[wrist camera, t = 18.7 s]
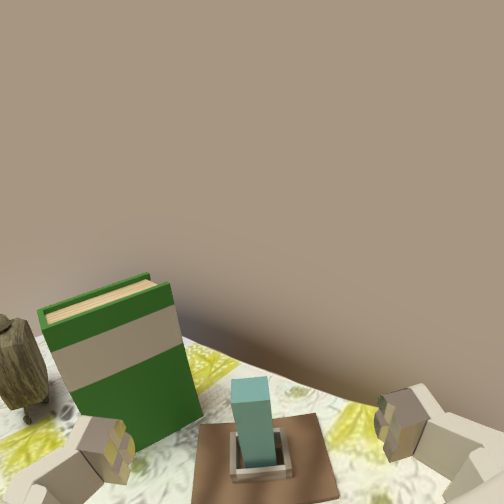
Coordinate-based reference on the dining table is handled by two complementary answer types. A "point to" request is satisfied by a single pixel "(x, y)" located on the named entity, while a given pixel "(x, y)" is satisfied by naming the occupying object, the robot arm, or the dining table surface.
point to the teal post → (253, 421)
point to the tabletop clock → (21, 366)
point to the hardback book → (124, 357)
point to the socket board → (264, 478)
